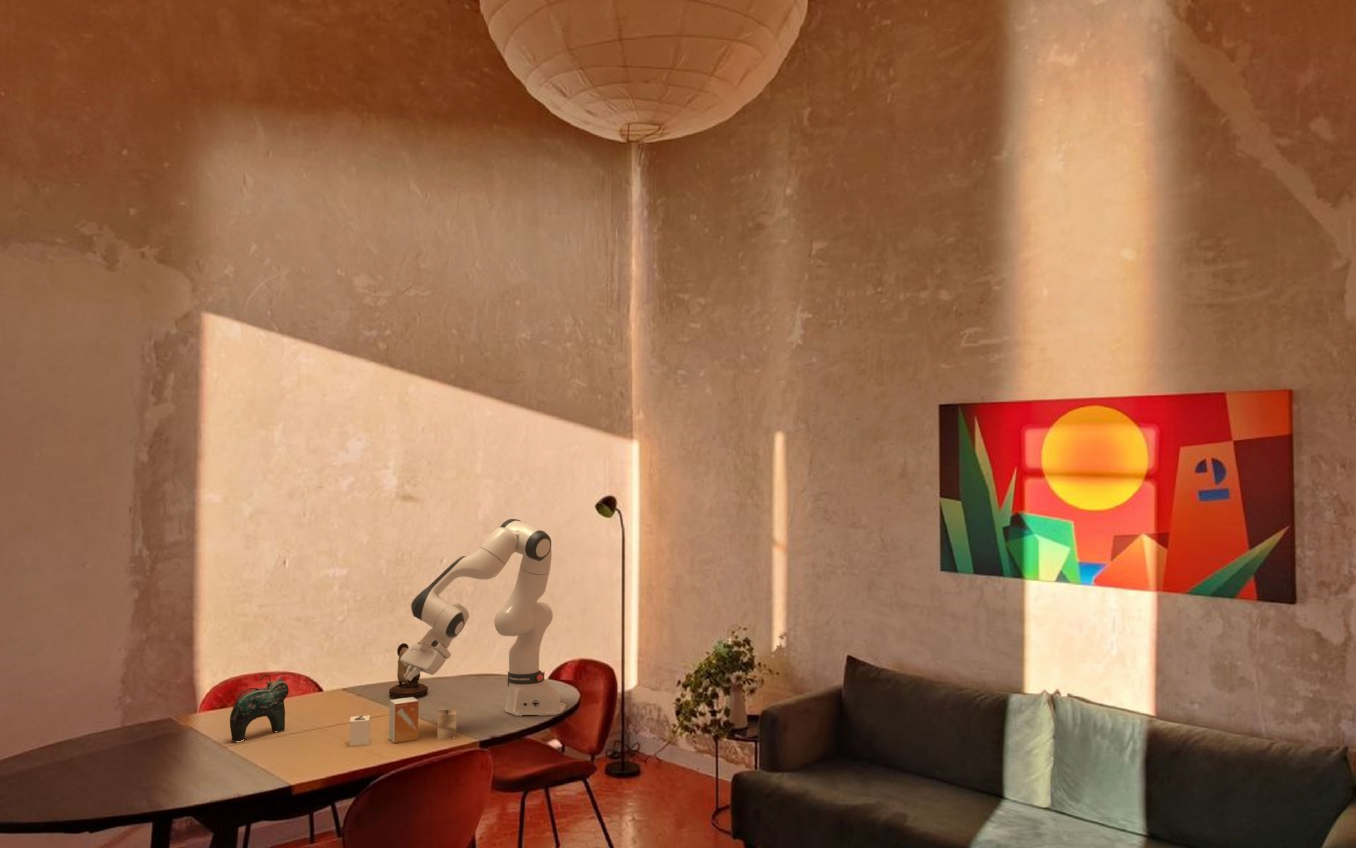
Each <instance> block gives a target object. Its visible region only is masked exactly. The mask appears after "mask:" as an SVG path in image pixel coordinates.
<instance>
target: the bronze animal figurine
mask: <svg viewBox="0 0 1356 848" xmlns="http://www.w3.org/2000/svg"><path fill="white" fill-rule="evenodd" d="M264 677H268V679H269V681H265V683H266V684H267V685H266V687H264V688H257V687H250V688H246V689H244V690H243V691H241V692H239V694H238V696H236V700H235V703H234V705H233V707H232V710H231V711H230V716H229V728H230V734H231V741H232V740H233V741H241V740H243V739H245V740H246V732H247V728H248V727H249V725H250V723H252V722H253V721H254V720H256V719H259V718H263V717H267V719H268V720H269V723H270V727H271V732H273V731H280V732H282V731H281V730H284V729H286V728H285V727H286V720H285V719H286V718H285V717H286V708H285V700H286V698H287V697H288V695H289V685H288V684H287V683H286V682H285V681H283V678H282V677H281V676H279V679H277V680H275V681H272V680H271V676H270V675H268V674H264V675H262V676H261V677H260V678H259V680H260V681H262V679H263V678H264ZM271 681H272V682H271ZM249 690H250V691H249ZM251 690H252V691H251ZM248 691H249V692H248ZM245 692H247V693H245ZM284 731H285V730H284Z"/></svg>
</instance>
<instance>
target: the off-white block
mask: <svg viewBox="0 0 1356 848" xmlns="http://www.w3.org/2000/svg"><path fill="white" fill-rule="evenodd" d="M370 716H371V715H369V714H367V715H358V716H355V715H354V716H350V719H349V747H355V746H369V745H370V741H371V737H370V735H371V734H370V731H371V725H370V724H371V723H370V722H371V719H370V718H371V717H370Z"/></svg>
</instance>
